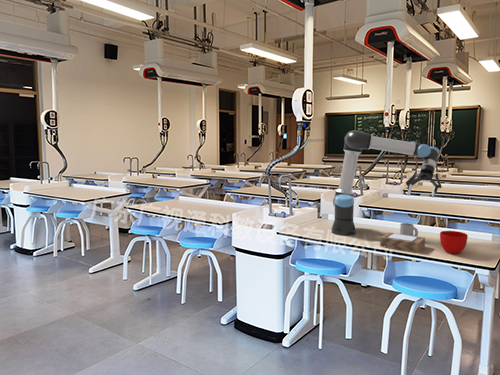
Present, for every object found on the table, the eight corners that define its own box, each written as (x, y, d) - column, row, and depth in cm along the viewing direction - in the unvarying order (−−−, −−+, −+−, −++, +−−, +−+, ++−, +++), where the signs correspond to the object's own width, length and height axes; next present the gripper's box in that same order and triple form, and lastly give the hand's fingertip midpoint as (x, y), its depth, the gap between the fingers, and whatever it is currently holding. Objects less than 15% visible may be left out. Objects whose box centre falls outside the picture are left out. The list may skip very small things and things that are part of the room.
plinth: (379, 246, 221) (380, 237, 221) (388, 240, 232) (388, 231, 232) (417, 252, 209) (418, 242, 209) (424, 246, 220) (425, 237, 220)
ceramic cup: (455, 246, 220) (456, 229, 218) (471, 256, 203) (472, 237, 202) (431, 246, 220) (432, 229, 219) (445, 256, 203) (446, 237, 202)
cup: (402, 236, 241) (402, 222, 240) (419, 239, 235) (420, 224, 233) (398, 239, 235) (398, 224, 234) (415, 242, 229) (416, 227, 228)
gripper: (450, 173, 241) (443, 200, 232) (408, 170, 256) (400, 196, 247) (449, 164, 236) (442, 193, 227) (406, 163, 252) (397, 189, 242)
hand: (420, 195), depth 237 cm, fingers open, 13 cm apart
